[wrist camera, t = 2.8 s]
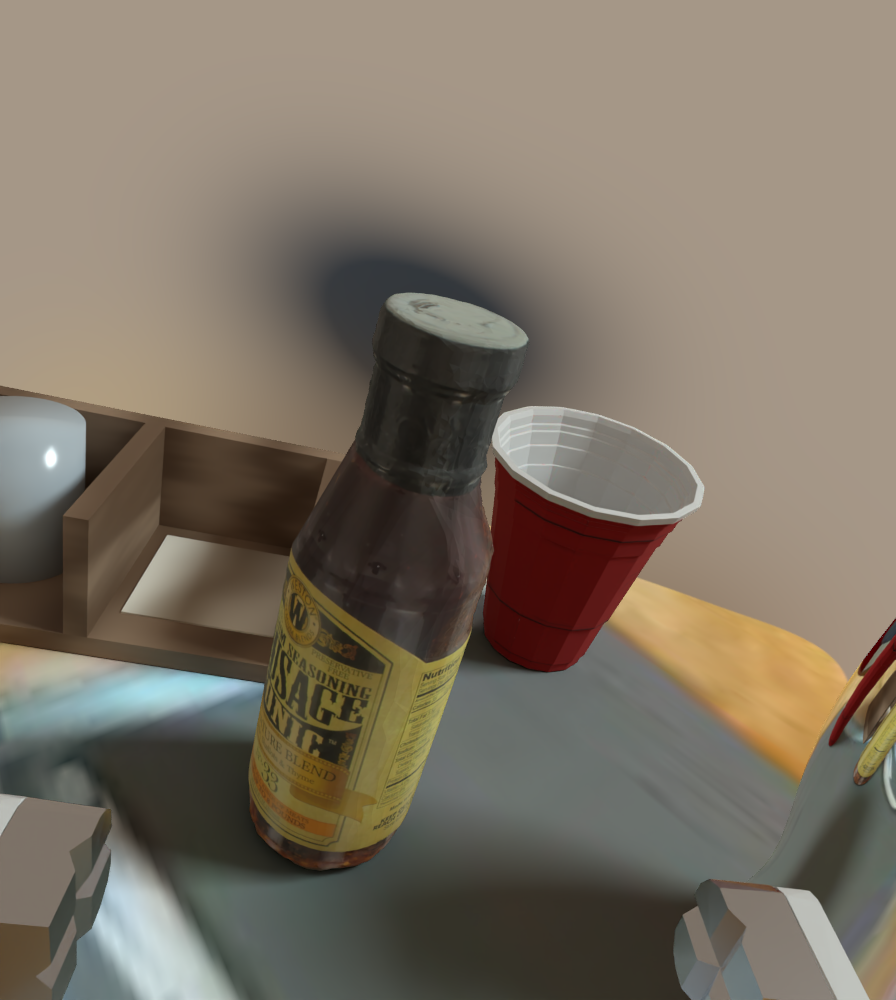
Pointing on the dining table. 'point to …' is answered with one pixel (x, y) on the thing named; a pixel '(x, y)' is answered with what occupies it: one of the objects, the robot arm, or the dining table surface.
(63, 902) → the robot arm
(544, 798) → the dining table surface
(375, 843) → the sauce bottle
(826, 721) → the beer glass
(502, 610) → the plastic cup
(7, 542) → the grey rounded cylinder
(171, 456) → the walnut rail
